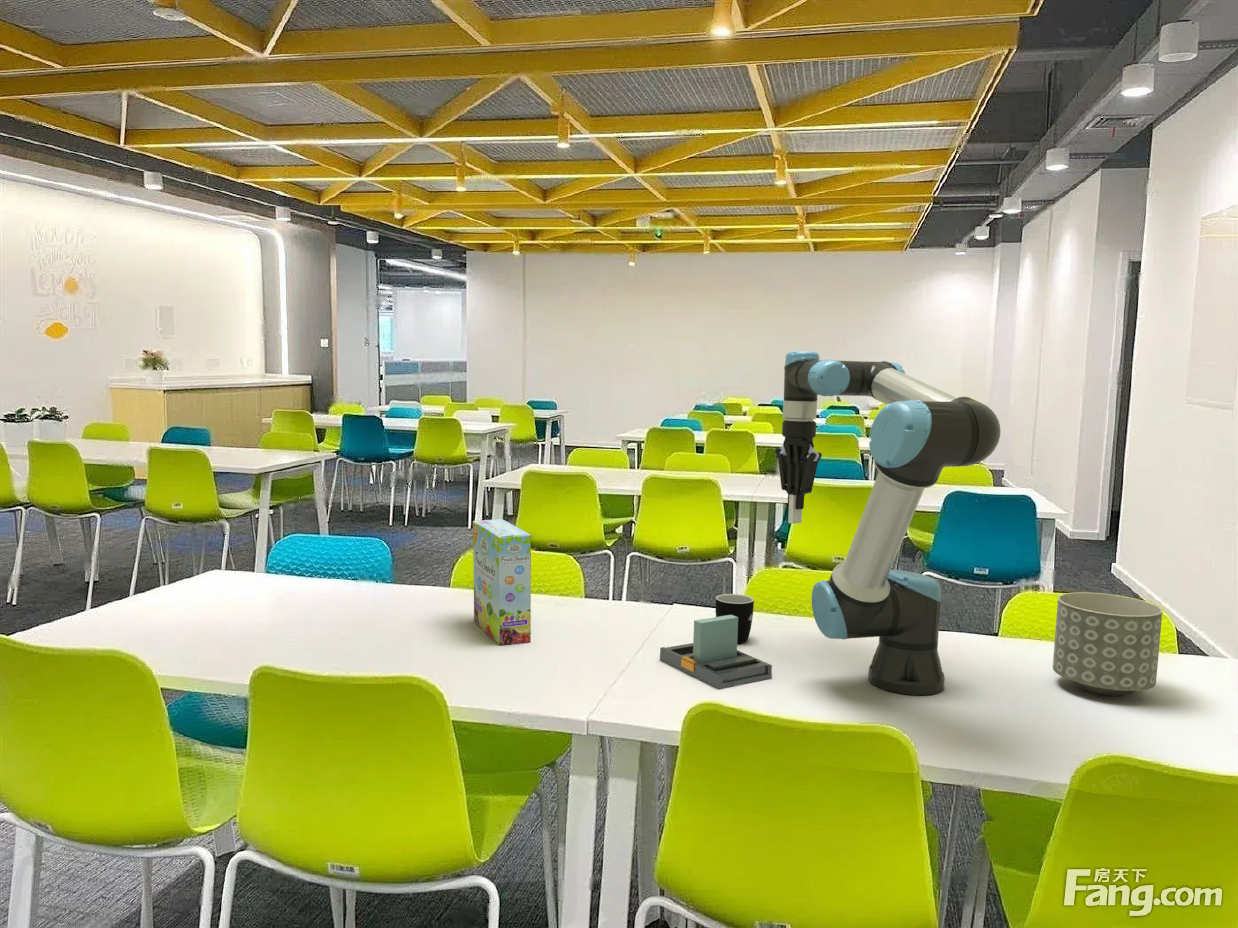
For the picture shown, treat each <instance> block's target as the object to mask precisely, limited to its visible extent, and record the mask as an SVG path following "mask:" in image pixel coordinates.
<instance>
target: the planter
mask: <svg viewBox="0 0 1238 928" xmlns="http://www.w3.org/2000/svg"><path fill="white" fill-rule="evenodd" d="M1056 606H1057V607H1056V618H1055V619H1056V620H1055V621H1056V622H1055V632H1054V634H1055V635H1054V647H1053V659H1052V669H1053V672H1055V674H1056V675H1058V676H1060V677H1062V678H1063V679H1066V680H1068V681H1069V682H1071V683H1072V684H1073V685H1075V686H1077V687H1078V688H1080V689H1082V690H1084V691H1086V692H1089V693H1092V694H1095V695H1101V696H1108V697H1109V696H1111V697H1112V696H1113V697H1116V696H1117V697H1119V696H1125V695H1130V694H1133V693H1136V692H1141V691H1147V690H1151V689H1153V688H1154V687H1156V685H1157V677H1158V666H1159V655H1160V653H1159V652H1160V642H1161V632H1162V620H1163V609H1162V608H1161V607H1160V606H1158V605H1156V604H1155V603H1152V602H1149V601H1147V600H1142V599H1139V598H1135V597H1131V596H1125V595H1124V596H1123V595H1119V594H1109V593H1102V592H1090V591H1089V592H1086V591H1085V592H1083V591H1081V592H1078V591H1077V592H1068V593H1063V594H1060V595H1059V596H1058V597H1057V605H1056Z"/></svg>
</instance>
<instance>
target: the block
mask: <svg viewBox="0 0 1238 928" xmlns="http://www.w3.org/2000/svg"><path fill="white" fill-rule="evenodd" d="M737 637H738V617H736V616H733V615H726V616H720V617H716V616H715V617H709V618H708V617H706V618H701V619H696V620H694V621H693V638H692V639H693V640H692V641H693V642H692V643H693V660H695V661H698V663H702V662H707V661H712V660H718V659H723V658H729V657H734V656H737V650H738V644H737Z"/></svg>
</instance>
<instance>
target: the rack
mask: <svg viewBox="0 0 1238 928" xmlns="http://www.w3.org/2000/svg"><path fill="white" fill-rule="evenodd" d="M659 649H660V651H659V661H661V662H663V663H665V664H667V665H669V666H672V667H673V668H674V669H677V670H679V671H681V672H683V673H685V674H686V675H689V676H691V677H693V678H695V679H697V680H699V681H701V682H703V683H705V684H707V685H709V686H711V687H714V688H715V689H717V690H722V689H727V688H732V687H735V686H736V687H737V686H741V685H746V684H751V683H755V682H760V681H761V682H762V681H765V680H770V679H772V678H773V674H772V671H773V664H770V663H768V662H765V661H763V660H761V659H759V658H756V657H754V656H751V655H749V654H747V653H744V652H742V651H740V650H738V649H737V656H734V657H729V658H723V659H718V660H712V661H707V662H702V663H698V661H695V660H693V642H691V643H684V644H680V645H679V644H678V645H673V646H667V647H665V646H663V647H662V646H661V647H660V648H659Z"/></svg>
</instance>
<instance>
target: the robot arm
mask: <svg viewBox="0 0 1238 928" xmlns="http://www.w3.org/2000/svg"><path fill="white" fill-rule="evenodd" d="M784 363H785V364H784V368H783V370H784V376H783V377H784V378H783V379H784V382H783V401H782V402H783V403H782V406H783V407H782V418H784V420H783V421H782V427H781V435H782V437H784V440H783V444H782V446H781V447H777V448H775V450H774V451H775V454H776V457H777V461H778V469H779V478H780V479H779V481H780V486H781V487H780V488H781V490H783V491H785V492H786V493H787V508H788V518H787V519H788V521H787V522H788V524H791V525H795V524H802V523H803V522H802V519H803V510H804V508H805V495H806V494H811V493H812V491H813V487H814V481H815V478H816V474H817V469H818V465H819V462H820V460H821V458H822V453H821V452H817V450H815V448H814V447H815V444H814V442H813V439H814V438H815V437H816V435H817V422H816V421H814V420H815V419H817V412H818V411H817V410H818V395H819V396H822V397H834V396H846V397H847V396H852V397H853V396H854V397H856V396H857V397H859V396H860V397H871V398H873V399H875V400H876V401H879V402H881V403H882V404H884V405H885V406H884V407H882V408H881V409H880V410H879V411H878V412H877V415H876V416H875V418H874V419H873V422H872V424H871V427H870V430H869V436H868V437H869V438H870V441H869V443H868V444H869V445H868V446H869V451H870V455H871V458H872V459H873V463H874V466H875V467H876V469H877V471H878V472H877V475H876V478H875V480H874V483H873V486H872V488H871V491H870V494H869V496H868V499H867V501H866V504H865V507H864V509H863V513H862V514H861V518H860V520H859V522H858V525H857V528H856V531H855V534H854V536H853V539H852V540H851V541H852V542H851V545H850V546H849V549H848V552H847V554H846V558H845V560H844V561H843V562H840V563H839V564H837V565H835V566H834V567H833V570H832V571H831V575H830V577H829V579H828V580H824V579H823V580H821V581H817V582H816V583H815V584H814V586H813V588H812V591H811V609H812V614H813V618H814V621H815V623H816V626H817V627H818V630H819V631H820V633H821V634H822V635H824V637H826V638H827V639H832V640H833V639H834V640H843V641H844V640H849V639H865V638H877V637H878V645H877V647H876V650H875V652H874V655H873V658H872V661H871V664H869V666H868V673H867V674H868V676H867V678H868V681H869V683H871V685H873V686H875V687H877V688H879V689H881V690H885V691H888V692H892V693H896V694H903V695H911V696H913V695H915V696H926V695H935V694H938V693H940V692H942V691H943V690H944V689H945V682H946V681H945V680H946V679H945V674H944V671H943V668H942V663H941V659H940V655H939V650H938V649H939V647H938V645H939V644H938V643H939V631H940V628H939V627H940V618H941V617H940V615H941V603H942V591H941V590H942V589H941V584H940V582H939V581H938V580H937V579H935V578H933V577H931V576H929V575H925V574H922V573H917V572H912V571H907V570H902V569H893V568H892V567H893V565H894V562H895V560H896V558H897V555H898V552H899V550H900V548H901V546H902V543H903V541H904V539H905V536H906V534H907V532H908V529H909V527H910V524H911V522H912V519H913V517H914V514H915V512H916V510H917V508H918V505H919V502H920V500H921V498H922V496H923V492H924V490H925V489H927V488H931V487H933V486H934V485H936V484H937V482H938V480H939V477H940V475H941V474H942V471H943V469H944V468H946V467H947V468H948V467H949V468H951V467H952V468H953V467H956V468H957V467H969V466H972V465H977V464H980V463H981V462H983V461H984V460H986V459H987V458H988V457H990V456H991V455H992V453H993V452H994V451H995V450H996V448H997V446H998V444H999V443H1000V437H1001V425H1000V420H999V419H998V417H997V415H996V414H995V412H994V410H992V409H991V408H990V407H989V406H987V405H986V404H984V403H982V402H980V401H978V400H975V399H973V398H971V397H968V396H958V397H956V396H953V395H951V394H949V393H948V392H945V391H943V390H941V389H939V388H936V387H934V386H933V385H930V384H927V383H926V382H924V381H921V380H919V379H917V378H914V377H913V376H911V375H908V374H906V372H905V369H903V366H902V365H901V364H899V363H898V362H891V361H887V360H885V361H884V360H882V361H861V360H859V361H858V360H837V359H820V354H819V353H818V352H817V351H811V350H809V351H806V350H805V351H804V350H803V351H801V350H797V351H795V350H791V351H788V352H787V353H786V355H785V362H784Z"/></svg>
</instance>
